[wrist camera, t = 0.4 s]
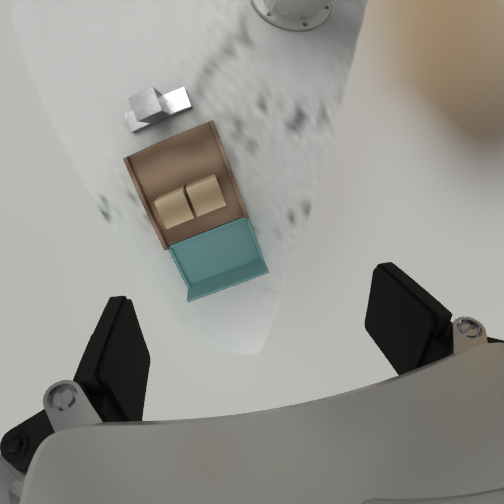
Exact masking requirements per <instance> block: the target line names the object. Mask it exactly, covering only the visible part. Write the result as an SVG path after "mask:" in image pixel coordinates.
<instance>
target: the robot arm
mask: <svg viewBox="0 0 504 504" xmlns="http://www.w3.org/2000/svg"><path fill="white" fill-rule="evenodd" d="M332 1H333V0H251V2H252V4H253V6H254V8H255V9H256V11H257V12H258V14H260V15H261V16H262V17H263V18H264V19H265V20H267V21H268V22H269V23H271V24H273V25H275V26H278V27H281V28H283V29H288V30H295V31H302V30H309V29H312V28H315V27H317V26H319V25H320V24H321V23H323V22H324V21H325V20H326V19H327V17H328V15H329V14H330V11H331V2H332ZM267 15H269V16H270V17H268V16H267ZM303 25H305V26H303ZM451 317H452V313H451V312H450V311H449V310H447V309H446V308H445V307H444V306H443V305H442V304H441V303H440V302H439V301H437V300H436V299H435V298H434V297H433V296H432V295H430V294H429V293H428V292H427V291H426V290H425V289H423V288H422V287H421V286H420V285H419V284H418V283H416V282H415V281H414V280H413V279H412V278H410V277H409V276H408V275H407V274H405V273H404V272H403V271H402V270H401V269H399V268H398V267H397V266H396V265H395V264H393V263H392V262H388V263H382V264H378V265H377V267H376V268H375V269H374V271H373V276H372V283H371V289H370V295H369V301H368V307H367V312H366V318H365V328H366V331H367V332H368V333H369V335H370V336H371V337H372V339H373V340H374V341H375V343H376V344H377V346H378V347H379V348H380V350H381V351H382V352H383V354H384V355H385V357H386V358H387V359H388V361H389V362H390V364H391V365H392V366H393V368H394V369H395V371H396V372H397V374H398V375H399V376H396V377H393V378H390V379H387V380H384V381H382V382H378V383H375V384H372V385H369V386H366V387H362V388H359V389H355V390H352V391H349V392H345V393H341V394H338V395H334V396H330V397H326V398H322V399H318V400H313V401H309V402H305V403H300V404H296V405H290V406H285V407H281V408H275V409H269V410H263V411H257V412H251V413H243V414H236V415H228V416H219V417H209V418H197V419H183V420H166V421H142V416H143V408H144V401H145V392H146V386H147V380H148V373H149V367H150V355H149V351H148V349H147V346H146V343H145V340H144V337H143V334H142V332H141V328H140V326H139V322H138V319H137V316H136V313H135V310H134V306H133V303H132V301H131V299H127V298H126V297H125V296H116V297H110V299H109V301H108V303H107V305H106V307H105V309H104V311H103V313H102V315H101V317H100V320H99V322H98V324H97V326H96V328H95V331H94V333H93V334H92V336H91V338H90V340H89V342H88V345H87V347H86V349H85V352H84V354H83V356H82V359H81V361H80V364H79V366H78V369H77V372H76V374H75V376H74V379H73V381H71V380H63V381H59V382H57V383H55V384H53V385H52V386H50V387H49V388H48V390H47V391H46V393H45V394H44V397H43V405H44V408H45V409H44V410H42V411H41V412H39V413H37V414H36V415H34V416H33V417H31V418H29V419H27V420H26V421H24V422H22V423H21V424H19V425H18V426H16V427H14V428H13V429H11V430H10V431H8V432H7V433H6V434H5V435H4V436H3V438H2V441H1V443H0V451H1V454H0V504H504V341H503V340H498V339H494V338H490V337H487V335H486V330H485V328H484V326H483V325H482V324H481V323H480V322H478V321H477V320H475V319H473V318H470V317H460V318H457V319H455V321H454V322H453V323H452V322H451V321H450V320H451Z"/></svg>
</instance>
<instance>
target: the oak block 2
mask: <svg viewBox="0 0 504 504" xmlns="http://www.w3.org/2000/svg"><path fill="white" fill-rule="evenodd" d="M186 190H187V193H188V195H189V198H190V200H191V202H192V205H193V207H194V210H195V212H196V214H197V217H198V216H200V215H203V214H205V213H208V212H211V211H213V210H216V209H218V208H221V207H223V206H226V202H225V199H224V196H223V193H222V191H221V188H220V186H219V183H218V180H217V178H216V175H215V173H212V174H210V175H207V176H205V177H202V178H200V179H197V180H195V181H192V182H190V183H188V184H187V187H186Z"/></svg>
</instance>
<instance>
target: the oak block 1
mask: <svg viewBox="0 0 504 504" xmlns="http://www.w3.org/2000/svg"><path fill="white" fill-rule="evenodd" d="M154 203H155V206H156V208H157V210H158V212H159V215H160V217H161V219H162V221H163V223H164V225H165V228H166V229H168V228H171V227H173V226H176V225H178V224H180V223H183V222H185V221H188V220H190V219H193V218H194V214H195V210H194V207H193V205H192V202H191V200H190V198H189V195H188V193H187V190H186V187H185V185H182V186H180V187H178V188H175V189H173V190H170V191H168V192H166V193H164V194H161V195H159V196H158V197H157V199H156V200H155V201H154Z"/></svg>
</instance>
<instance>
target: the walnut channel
mask: <svg viewBox="0 0 504 504" xmlns="http://www.w3.org/2000/svg"><path fill="white" fill-rule="evenodd" d="M124 162H125V164H126V167H127V169H128V171H129V174H130V176H131V179H132V181H133V183H134V186H135V188H136V190H137V192H138V195H139V197H140V199H141V201H142V204H143V206H144V208H145V210H146V212H147V215H148V217H149V219H150V221H151V223H152V225H153V227H154V230H155V232H156V234H157V236H158V238H159V240H160V242H161V244H162V246H163V248H164V250H168V247H169V245H171V244H174V243H176V242H179V241H181V240H184V239H186V238H189V237H191V236H194V235H196V234H199V233H202V232H204V231H207V230H209V229H212V228H214V227H217V226H220V225H222V224H225V223H227V222H230V221H233V220H235V219H238V218H241V217H243V216H244V217H245V219H247V218H249V217H248V214H247V211H246V209H245V206H244V203H243V200H242V198H241V195H240V192H239V190H238V187H237V184H236V181H235V179H234V176H233V173H232V171H231V168H230V165H229V162H228V160H227V157H226V154H225V152H224V149H223V146H222V144H221V141H220V138H219V136H218V133H217V130H216V127H215V125H214V122H213V120H212V121H209V122H208V123H205V124H202V125H200V126H197V127H194V128H192V129H189V130H187V131H184V132H182V133H179V134H177V135H175V136H172V137H170V138H168V139H165V140H163V141H161V142H158V143H156V144H154V145H152V146H150V147H147V148H145V149H143V150H141V151H139V152H137V153H135V154H133V155H131V156H128V157H126V158H124ZM212 173H215V175H216V178H217V180H218V183H219V186H220V188H221V191H222V193H223V196H224V199H225V202H226V206H223V207H221V208H218V209H216V210H213V211H211V212H208V213H205V214H203V215H200V216H198V217H197V214H196V212H195V214H194V218H193V219H190V220H188V221H185V222H183V223H180V224H178V225H176V226H173V227H171V228H168V229H166V228H165V225H164V223H163V221H162V219H161V217H160V215H159V212H158V210H157V208H156V206H155V203H154V201H155V200H156V199H157V197H158V196H159V195H161V194H164V193H166V192H168V191H170V190H173V189H175V188H178V187H180V186H182V185H185V187H187V184H188V183H190V182H192V181H195V180H197V179H200V178H202V177H205V176H207V175H210V174H212Z"/></svg>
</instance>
